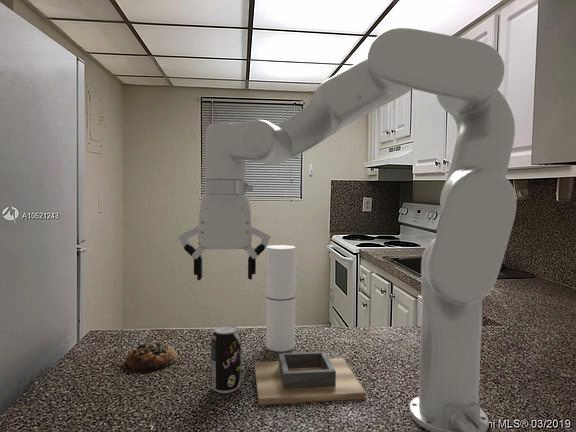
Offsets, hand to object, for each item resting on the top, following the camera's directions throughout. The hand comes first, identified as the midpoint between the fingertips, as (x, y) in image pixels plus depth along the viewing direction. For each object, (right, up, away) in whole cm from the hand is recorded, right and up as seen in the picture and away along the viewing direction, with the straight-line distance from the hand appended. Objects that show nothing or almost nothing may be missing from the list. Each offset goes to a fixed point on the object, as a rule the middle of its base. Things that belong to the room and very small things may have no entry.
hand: (225, 278), depth 80 cm
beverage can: (0, -22, +1) cm, 22 cm away
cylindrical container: (+10, -21, +24) cm, 33 cm away
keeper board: (+16, -22, +4) cm, 27 cm away
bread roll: (-19, -21, +14) cm, 32 cm away
